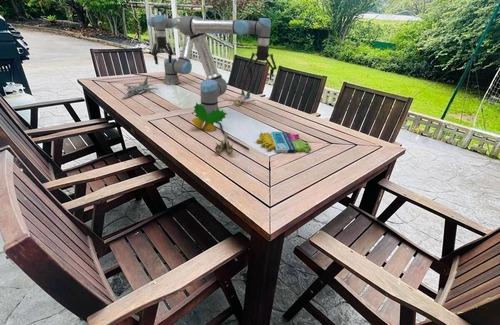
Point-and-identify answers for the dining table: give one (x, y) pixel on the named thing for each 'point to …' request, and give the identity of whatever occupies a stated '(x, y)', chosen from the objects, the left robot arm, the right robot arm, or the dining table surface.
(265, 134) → the packaged colorful gloves
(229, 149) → the jawbone
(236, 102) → the toy
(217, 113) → the ornament
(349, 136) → the dining table surface
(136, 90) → the airplane
